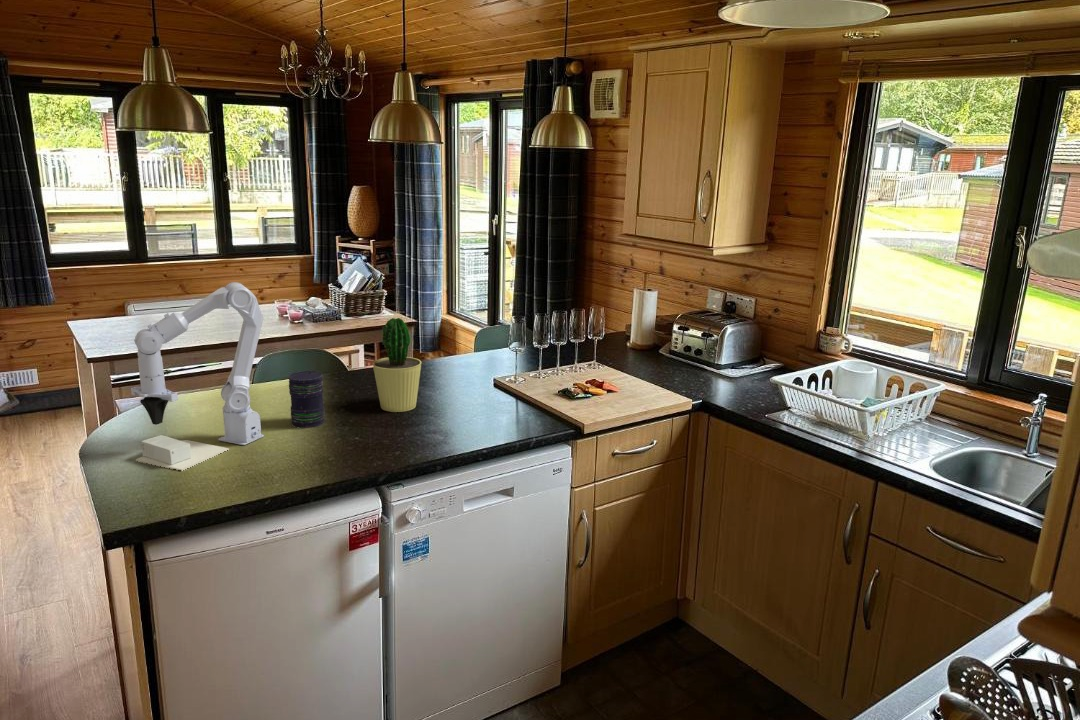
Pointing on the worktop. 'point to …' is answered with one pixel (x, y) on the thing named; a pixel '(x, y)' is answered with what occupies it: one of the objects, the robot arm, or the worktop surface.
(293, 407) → the storage jar
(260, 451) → the worktop surface
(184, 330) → the robot arm
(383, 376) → the potted cactus
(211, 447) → the mat
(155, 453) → the skincare box
